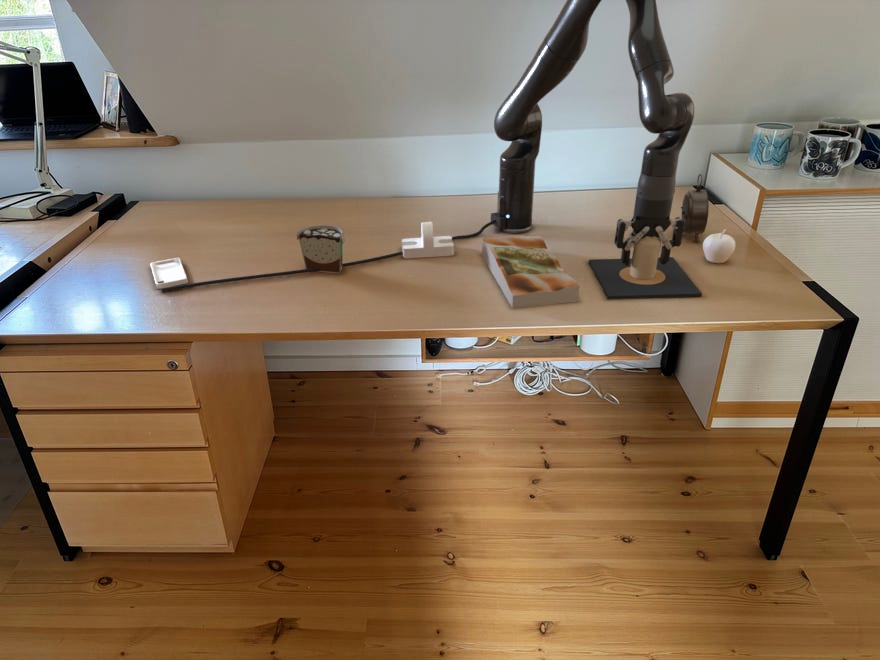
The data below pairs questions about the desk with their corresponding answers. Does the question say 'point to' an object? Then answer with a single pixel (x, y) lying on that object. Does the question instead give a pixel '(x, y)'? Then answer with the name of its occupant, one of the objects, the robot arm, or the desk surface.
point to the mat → (624, 286)
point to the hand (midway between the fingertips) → (643, 263)
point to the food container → (322, 248)
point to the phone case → (169, 273)
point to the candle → (645, 258)
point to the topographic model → (528, 271)
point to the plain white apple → (718, 247)
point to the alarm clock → (695, 211)
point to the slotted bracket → (427, 244)
